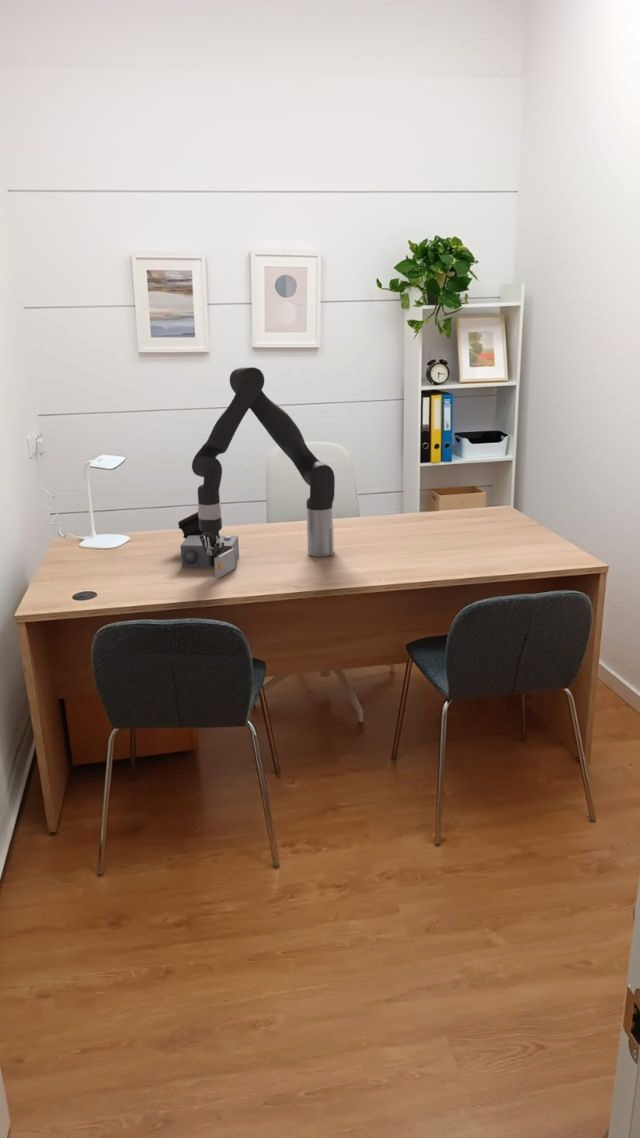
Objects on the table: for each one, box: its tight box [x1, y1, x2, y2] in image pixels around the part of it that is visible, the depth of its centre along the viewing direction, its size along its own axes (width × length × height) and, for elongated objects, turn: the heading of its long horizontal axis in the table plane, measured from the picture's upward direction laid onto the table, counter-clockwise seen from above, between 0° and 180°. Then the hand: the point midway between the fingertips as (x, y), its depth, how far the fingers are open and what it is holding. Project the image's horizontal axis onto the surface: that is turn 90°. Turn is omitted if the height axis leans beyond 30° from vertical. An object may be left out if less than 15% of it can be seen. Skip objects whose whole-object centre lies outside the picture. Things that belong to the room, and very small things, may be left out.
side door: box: [214, 548, 237, 579], centre depth 289 cm, size 12×2×7 cm, turn 154°
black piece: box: [177, 511, 203, 540], centre depth 316 cm, size 4×13×15 cm, turn 93°
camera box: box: [180, 535, 240, 569], centre depth 301 cm, size 18×14×9 cm
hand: (213, 565), depth 288 cm, fingers closed
